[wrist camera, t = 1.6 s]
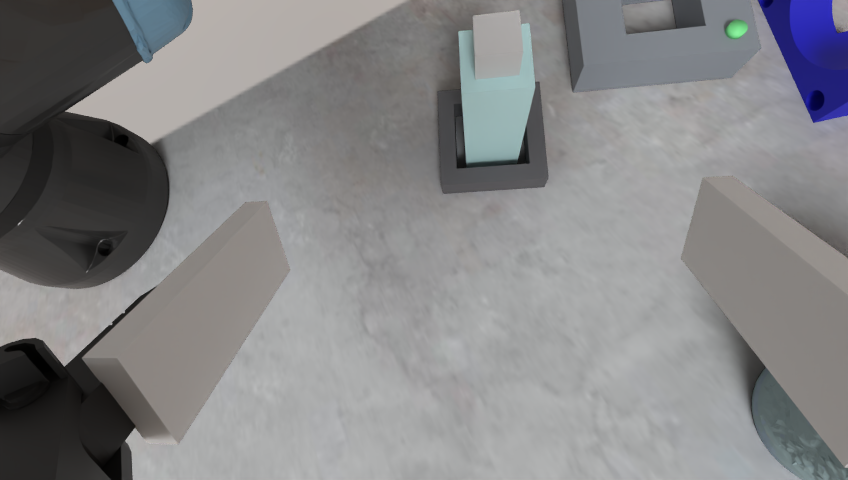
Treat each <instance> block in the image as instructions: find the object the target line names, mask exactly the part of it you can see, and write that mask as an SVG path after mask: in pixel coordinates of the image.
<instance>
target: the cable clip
mask: <svg viewBox="0 0 848 480" xmlns="http://www.w3.org/2000/svg"><path fill="white" fill-rule="evenodd" d="M758 2H759V4H760V6H761V8H762V11H763V13H764V15H765V17H766V19H767V22H768V24H769V26H770V28H771V30H772V33H773V35H774V37H775V39H776V41H777V44H778V46H779V48H780V50H781V52H782V55H783V57H784V59H785V61H786V63H787V66H788V68H789V70H790V72H791V74H792V77H793V79H794V81H795V83H796V85H797V88H798V90H799V92H800V94H801V96H802V99H803V101H804V103H805V105H806V107H807V110H808V112H809V114H810V116H811V119H812V121H813V123H815V122H819V121H824V120H828V119H833V118H837V117H842V116H847V115H848V31H846V32H842V33H837V31H836V28H835V26H834V22H833V16H832V0H758Z"/></svg>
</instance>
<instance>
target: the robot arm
mask: <svg viewBox="0 0 848 480" xmlns="http://www.w3.org/2000/svg"><path fill="white" fill-rule="evenodd" d="M192 12H193V8H192V2H191V0H0V270H2V271H5V272H7V273H9V274H11V275H14V276H16V277H18V278H20V279H23V280H25V281H28V282H30V283H34V284H38V285H42V286H49V287H60V288H70V289H81V288H89V287H93V286H97V285H100V284H103V283H105V282H108V281H110V280H112V279H114V278H115V277H117V276H119V275H120V274H122V273H123V272H125V271H126V270H127V269H129V268H130V267H131V266H132V265H133V264H134V263H136V262H137V261H138V260H139V259H140V257H141V256H142V255H143V254H144V253H145V252H146V250H147V249H148V248H149V246H150V245H151V243H152V242H153V240H154V238H155V237H156V235H157V233H158V231H159V229H160V226H161V224H162V221H163V218H164V215H165V211H166V207H167V200H168V181H167V175H166V171H165V168H164V165H163V163H162V160H161V158H160V157H159V155H158V153H157V152H156V151H155V149H154V148H153V147H152V146H151V145H150V144H149V143H148V142H147V141H145V140H144V139H143V138H141V137H139V136H138V135H136V134H134V133H132V132H131V131H129V130H127V129H125V128H124V127H122V126H120V125H118V124H115V123H112V122H110V121H107V120H103V119H98V118H93V117H89V116H84V115H79V114H74V113H69V112H65V111H66V110H67V109H69V108H70V107H72V106H73V105H75V104H76V103H78V102H79V101H81V100H83V99H84V98H85V97H87V96H89V95H90V94H92V93H93V92H95V91H96V90H98V89H99V88H101V87H102V86H104V85H106V84H107V83H108V82H110V81H112V80H113V79H115V78H116V77H118V76H119V75H121V74H122V73H124V72H126V71H127V70H128V69H130V68H132V67H133V66H135V65H136V64H138V63H139V62H141V61H142V60H143V61H144V62H145V63H148V62H150V61H151V60H152V58H153V57H152V56H153V54H154V53H155V52H157V51H158V50H159V49H161V48H162V47H164V46H165V45H166V44H168V43H169V42H171V41H172V40H173V39H175V38H176V37H178V36H179V35H180V34H182V33H183V32H184V31H185V30H186V29H187V28H188V26H189V25H190V23H191V20H192ZM681 259H682V260H683V262H684V263H685V264H686V266H687V267H688V268H689V269H690V271H691V272H692V273H693V274H694V276H695V277H696V278H697V280H698V281H699V282H700V283H701V285H702V286H703V287H704V288H705V290H706V291H707V292H708V294H709V295H710V296H711V297H712V299H713V300H714V301H715V303H716V304H717V305H718V306H719V308H720V309H721V310H722V311H723V313H724V314H725V315H726V317H727V318H728V319H729V320H730V322H731V323H732V324H733V326H734V327H735V328H736V329H737V331H738V332H739V333H740V334H741V336H742V337H743V338H744V340H745V341H746V342H747V343H748V345H749V346H750V347H751V349H752V350H753V351H754V352H755V354H756V355H757V356H758V357H759V359H760V360H761V361H762V363H763V364H764V365H765V366H766V368H767V369H768V370H769V372H770V373H771V374H772V375H773V377H774V378H775V379H776V380H777V382H778V383H779V384H780V386H781V387H782V388H783V389H784V391H785V392H786V393H787V395H788V396H789V397H790V398H791V400H792V401H793V402H794V403H795V405H796V406H797V407H798V409H799V410H800V411H801V412H802V414H803V415H804V416H805V418H806V419H807V420H808V421H809V423H810V424H811V425H812V426H813V428H814V429H815V430H816V432H817V433H818V434H819V435H820V437H821V438H822V439H823V441H824V442H825V443H826V444H827V446H828V447H829V448H830V449H831V451H832V452H833V453H834V455H835V456H836V457H837V458H838V460H839V461H840V462H841V464H842V465H843V466H844V467H845V468H848V258H847V257H845V256H844V255H843V254H841V253H840V252H838V251H837V250H836V249H834V248H833V247H831V246H830V245H829V244H827V243H826V242H824V241H823V240H822V239H820V238H819V237H817V236H816V235H815V234H813V233H812V232H810V231H809V230H808V229H806V228H805V227H803V226H802V225H801V224H799V223H798V222H796V221H795V220H794V219H792V218H791V217H789V216H788V215H787V214H785V213H784V212H782V211H781V210H780V209H778V208H777V207H775V206H774V205H773V204H771V203H770V202H768V201H767V200H766V199H764V198H763V197H761V196H760V195H758V194H757V193H756V192H754V191H753V190H751V189H750V188H749V187H747V186H746V185H744V184H743V183H742V182H740V181H739V180H737V179H736V178H735V177H733V176H723V177H704V178H703V179H702V182H701V186H700V190H699V194H698V197H697V201H696V205H695V208H694V212H693V216H692V219H691V223H690V227H689V230H688V234H687V238H686V241H685V245H684V249H683V252H682V256H681ZM289 271H290V267H289V264H288V261H287V258H286V255H285V252H284V249H283V247H282V244H281V241H280V238H279V235H278V232H277V229H276V226H275V223H274V220H273V217H272V214H271V211H270V208H269V205H268V202H267V201H261V202H245V203H244V204H243V205H242V206H241V207H240V208H239V209H238V210H237V211H236V212H235V213H234V214H233V215H232V216H230V217H229V218H228V219H227V220H226V221H225V222H224V223H223V224H222V225H221V226H220V227H219V228H218V229H217V230H216V231H215V232H214V233H213V234H212V235H210V236H209V237H208V238H207V239H206V240H205V241H204V242H203V243H202V244H201V245H200V246H199V247H198V248H197V249H196V250H195V251H194V252H193V253H192V254H190V255H189V256H188V257H187V258H186V259H185V260H184V261H183V262H182V263H181V264H180V265H179V266H178V267H177V268H176V269H175V270H174V271H173V272H172V273H170V274H169V275H168V276H167V277H166V278H165V279H164V280H163V281H162V282H161V283H160V284H159V285H158V286H156V287H155V288H153V289H151V290H150V291H148V292H146V293H145V294H143V295H142V296H140V297H139V298H138V299H137V300H136V301H135V302H134V303H133V304H131V305H130V306H129V307H128V308H127V309H126V310H125V313H122V314H121V315H120V316H119V317H117V318H116V319H115V320H114V321H113V322H112V323H113V324H112V325H109V326H108V327H107V328H106V329H105V330H104V331H102V332H101V333H100V334H99V335H98V336H97V337H96V338H95V339H94V340H93V341H92V342H91V343H90V344H89V345H87V346H86V347H85V348H84V349H83V350H82V351H81V352H80V353H79V354H78V355H77V356H76V357H75V358H74V359H72V360H71V361H70V362H69V363H68V364H67V365H66V366H65V367H64V366H63V365H62V364H61V362H60V361H59V360H58V359H57V357H56V356H55V355H54V354H53V353H52V351H51V350H50V349H49V348H48V346H47V345H46V344H45V343H44V342H43V341H42V340H39V339H36V338H30V339H22V340H18V341H15V342H12V343H8V344H6V345H3V346H1V347H0V480H133V478H132V457H131V450H130V448H129V445H128V444H127V443H126V442H125V440H126V438H127V437H128V436H129V435H130V433H131V432H132V431H133V429H134V428H136V429H137V431H138V432H139V433H140V434H141V436H142V437H143V438H144V440H145V441H146V442H147V443H148V444H174V445H179V443H180V441H181V440H182V438H183V437H184V435H185V434H186V432H187V430H188V429H189V427H190V426H191V424H192V423H193V421H194V420H195V418H196V416H197V415H198V413H199V412H200V410H201V409H202V407H203V405H204V404H205V402H206V401H207V399H208V398H209V396H210V394H211V393H212V391H213V390H214V388H215V387H216V385H217V384H218V382H219V380H220V379H221V377H222V376H223V374H224V373H225V371H226V369H227V368H228V366H229V365H230V363H231V362H232V360H233V359H234V357H235V355H236V354H237V352H238V351H239V349H240V348H241V346H242V344H243V343H244V341H245V340H246V338H247V337H248V335H249V334H250V332H251V330H252V329H253V327H254V326H255V324H256V323H257V321H258V319H259V318H260V316H261V315H262V313H263V312H264V310H265V309H266V307H267V305H268V304H269V302H270V301H271V299H272V298H273V296H274V294H275V293H276V291H277V290H278V288H279V287H280V285H281V284H282V282H283V280H284V279H285V277H286V276H287V274H288V273H289Z"/></svg>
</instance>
